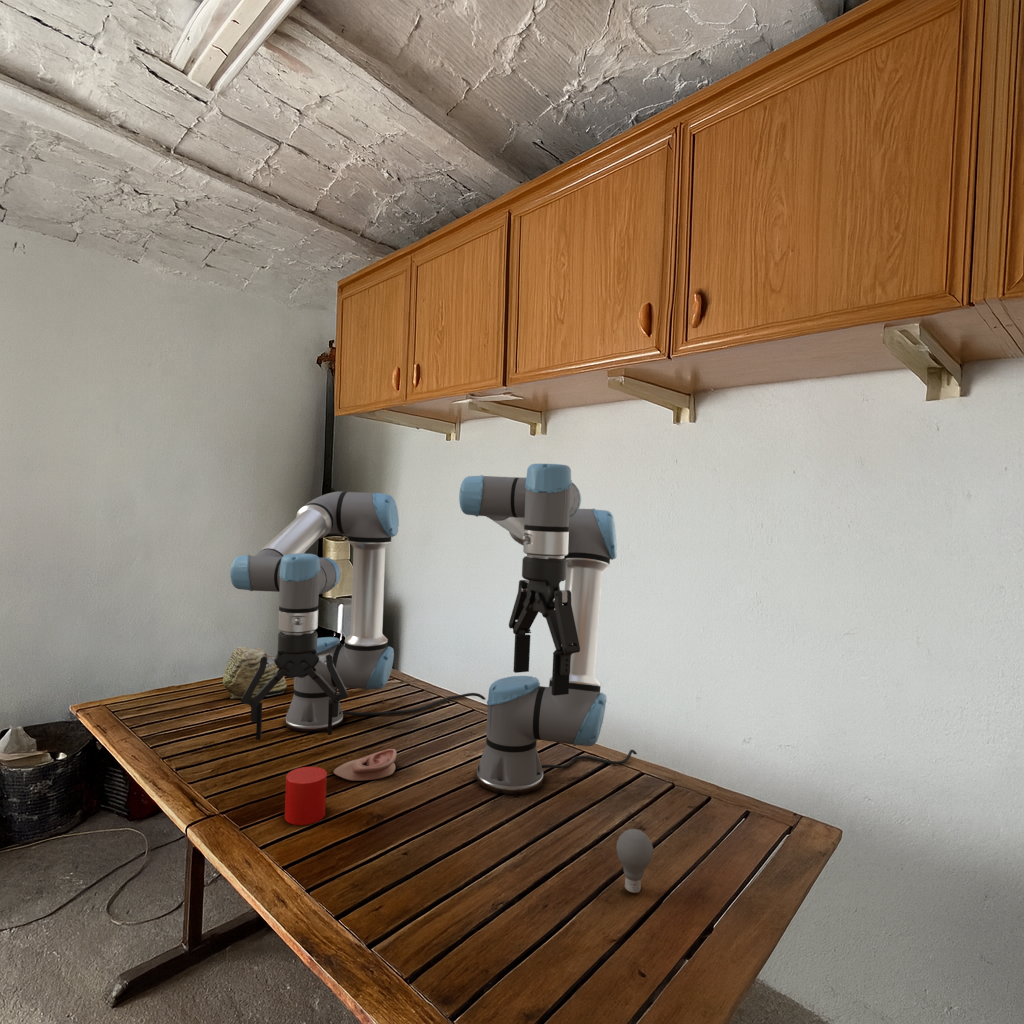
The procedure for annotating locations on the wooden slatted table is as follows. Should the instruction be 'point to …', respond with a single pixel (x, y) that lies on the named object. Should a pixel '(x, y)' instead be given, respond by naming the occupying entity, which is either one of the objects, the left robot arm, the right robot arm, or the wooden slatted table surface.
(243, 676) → the fossil
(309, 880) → the wooden slatted table surface
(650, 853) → the light bulb
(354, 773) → the anatomical model
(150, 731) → the wooden slatted table surface
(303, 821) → the cylinder
